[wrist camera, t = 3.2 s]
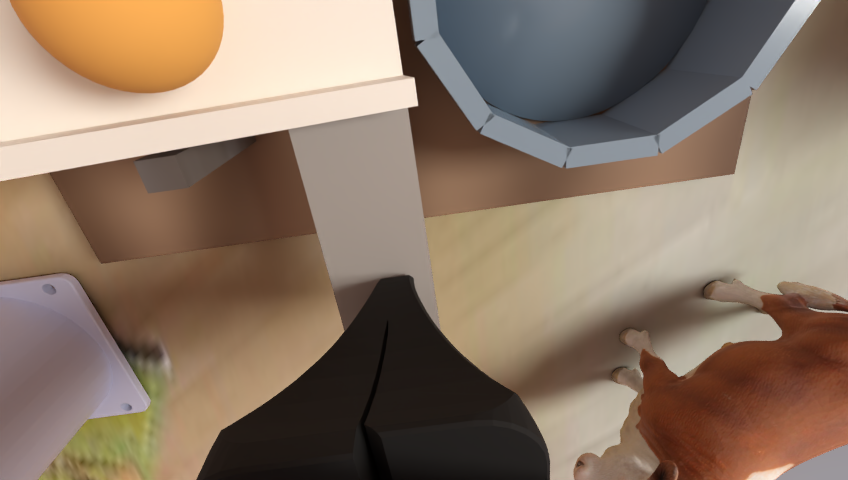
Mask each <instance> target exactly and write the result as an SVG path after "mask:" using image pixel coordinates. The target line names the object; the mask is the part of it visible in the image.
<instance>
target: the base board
mask: <svg viewBox="0 0 848 480" xmlns="http://www.w3.org/2000/svg"><path fill="white" fill-rule="evenodd" d="M392 3H393V10H394V17H395V24H396V31H397V38H398V44H399V51H400V58H401V65H402V72H403V75H405V76H409V77H414V79H415V86H416V93H417V101H418V106H414V107H409V108H408V113H409V119H410V126H411V133H412V140H413V147H414V153H415V160H416V167H417V174H418V181H419V188H420V194H421V201H422V208H423V215H424V218H427V217H434V216H441V215H448V214H455V213H462V212H469V211H476V210H483V209H490V208H497V207H504V206H511V205H518V204H525V203H532V202H539V201H546V200H553V199H561V198H568V197H575V196H582V195H589V194H596V193H603V192H610V191H617V190H624V189H631V188H638V187H645V186H652V185H659V184H666V183H673V182H680V181H687V180H694V179H702V178H709V177H716V176H723V175H730V174H734V172H735V168H736V163H737V159H738V154H739V149H740V145H741V140H742V135H743V131H744V126H745V121H746V117H747V112H748V108H749V103H750V98H751V95H750V96H749V97H747V98H746V99H744V100H743V101H741V102H740V103H738V104H737V105H735V106H734V107H732V108H731V109H729V110H728V111H726V112H725V113H723V114H722V115H720V116H718V117H717V118H715V119H714V120H712V121H711V122H709V123H708V124H706V125H705V126H703V127H702V128H700V129H699V130H697V131H696V132H694V133H693V134H691V135H690V136H688V137H687V138H685V139H684V140H682V141H681V142H679V143H678V144H676V145H675V146H673V147H672V148H670V149H668V150H667V151H665V152H664V153H659V152H658V156H651V157H644V158H637V159H630V160H623V161H616V162H609V163H602V164H595V165H588V166H581V167H574V168H567V169H566V168H565V167H564V166H563V167H562V168H560V167H558V166H556V165H553V164H551V163H549V162H546V161H544V160H541V159H539V158H537V157H534V156H532V155H530V154H527V153H525V152H522V151H520V150H518V149H515V148H513V147H510V146H508V145H506V144H503V143H501V142H499V141H496V140H494V139H491V138H489V137H487V136H484V135H482V134H480V133H479V132H478V131H476V130H475V128H474V127H473V126H472V125H471V123H470V122H469V121H468V120H467V118H466V117H465V116H464V115H463V113H462V112H461V111H460V109H459V108H458V107H457V105H456V104H455V102H454V101H453V100H452V98H451V97H450V95H449V94H448V92H447V91H446V90H445V88H444V87H443V85H442V84H441V83H440V81H439V80H438V78H437V77H436V75H435V74H434V73H433V71H432V70H431V68H430V67H429V66H428V64H427V63H426V61H425V60H424V58H423V57H422V56H421V54H420V53H419V51H418V50H417V49H416V47H415V46H414V44H416V43H417V42H418V41H412V34H411V27H410V19H409V12H408V4H407V0H392ZM669 62H670V61H669ZM667 65H668V64H667ZM667 65H666V66H667ZM666 66H665V67H664V68H663V69H662V70H661V71H663V70H664V69H665V68H666ZM661 71H660V72H661ZM660 72H659V73H660ZM659 73H658V74H659ZM751 91H752V89H751ZM483 100H484V99H483ZM484 101H485V103H487V104H490V103H489V102H487V101H486V100H484ZM490 105H492V104H490ZM492 106H494V105H492ZM494 107H495V106H494ZM496 108H497V107H496ZM610 108H611V107H610ZM608 109H609V108H608ZM608 109H606V110H604V111H601V112H598V113H595V114H592V115H598V114H602V113H604V112H605V111H607V110H608ZM512 115H513V114H512ZM592 115H589V116H592ZM515 116H516V115H515ZM517 117H519V116H517ZM519 118H522V117H519ZM522 119H524V120H526V121H528V122H531V123H533V124H537V123H544V122H550V121H539V120H532V119H527V118H522ZM49 173H50V174H51V176H52V178H53V180H54V182H55V183H56V185H57V187H58V189H59V190H60V192H61V194H62V196H63V197H64V199H65V201H66V203H67V204H68V206H69V208H70V210H71V212H72V213H73V215H74V217H75V219H76V220H77V222H78V224H79V226H80V227H81V229H82V231H83V233H84V234H85V236H86V238H87V240H88V241H89V243H90V245H91V247H92V249H93V250H94V252H95V254H96V256H97V257H98V259H99V261H100V263H101V264H102V263H109V262H116V261H124V260H131V259H138V258H145V257H152V256H159V255H166V254H173V253H180V252H187V251H194V250H201V249H208V248H215V247H222V246H229V245H236V244H243V243H250V242H257V241H265V240H272V239H279V238H286V237H293V236H300V235H307V234H314V233H317V231H316V227H315V223H314V220H313V216H312V213H311V209H310V206H309V202H308V198H307V195H306V191H305V188H304V184H303V181H302V177H301V174H300V170H299V166H298V163H297V159H296V156H295V152H294V149H293V145H292V141H291V138H290V134H289V131H288V129H287V130H281V131H276V132H270V133H265V134H259V135H254V136H248V137H243V138H237V139H232V140H226V141H220V142H215V143H209V144H204V145H198V146H193V147H187V148H182V149H176V150H171V151H165V152H160V153H154V154H149V155H143V156H137V157H132V158H126V159H121V160H115V161H110V162H104V163H99V164H93V165H88V166H82V167H77V168H71V169H65V170H60V171H54V172H49Z"/></svg>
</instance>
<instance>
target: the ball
mask: <svg viewBox="0 0 848 480" xmlns="http://www.w3.org/2000/svg"><path fill="white" fill-rule="evenodd" d="M10 3H11V5H12V7H13V9H14V11H15V12H16V14H17V16H18V17H19V19H20V21H21V22H22V24H23V25H24V26H25V28H26V29H27V30H28V32H29V33H30V34H31V35H32V36H33V37H34V39H35V40H36V41H37V42H38V43H39V44H40V45H41V46H42V47H43V48H44V49H45V50H46V51H47V52H49V53H50V54H51V55H52V56H53V57H54V58H55V59H57V60H58V61H59V62H61V63H62V64H63V65H65V66H66V67H68V68H69V69H71V70H72V71H74V72H76V73H77V74H79V75H81V76H82V77H85V78H87V79H89V80H91V81H93V82H95V83H98V84H101V85H103V86H106V87H109V88H113V89H117V90H121V91H126V92H133V93H160V92H166V91H170V90H175V89H177V88H180V87H182V86H185V85H187V84H188V83H190V82H192V81H194V80H195V79H196V78H198V77H199V76H200V75H202V74H203V73H204V71H205V70H206V69H207V68H208V67H209V66H210V64H211V63H212V61H213V60H214V59H215V57H216V54H217V52H218V50H219V48H220V44H221V41H222V36H223V29H224V13H223V5H222V1H221V0H10Z"/></svg>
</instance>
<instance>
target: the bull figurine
mask: <svg viewBox="0 0 848 480" xmlns="http://www.w3.org/2000/svg"><path fill="white" fill-rule="evenodd" d="M777 288H778V289H779V291H780V292H781V293H782V294H783V295H777V294H771V293H765V292H761V291H757V290H754V289H752V288H750V287H748V286H746V285H744V284H743V283H742V282H741V281H739V280H736V279H734V280H733V283H732V284H727V283H723V282H720V281H714V282H712V283H710V284H709V285H707V286H706V288H705V289H704V296H705V298H706V299H711V300H717V301H721V302H738V303H743V304H748V305H751V306H754V307H756V308H758V309H759V311H760V312H761V313H763V314H769V315H770V316H771V317H772V318H773V319H774V320H775V322H776V323H777V324H778V326H779V327H780V328H781V330H782V336H781V337H780V338H779V339H778V340H775V341H744V342H738V343H734V344H733V343H731V342H728V343H725V344H724V345H723V346H722V347H721V349H719V350H718V351H716V352H715V353H713V354H712V355H711V356H709V357H708V358H707V359H706V360H705V361H703V362H702V363H701V364H699V365H698V366H697V367H695V368H694V369H693V370H691V371H689V372H688V373H687V374H685V375H684V376H681V377H678V376H677V375H676V374H674V373H673V372H671V371H670V370H669V369H668V367H667V366H666V364H665V362H664V361H663V360H662V359H661V358H660V357H658V356H657V355H656V354H655V352H654V350H653V347H652V344H651V342H650V339H649V337H650V335H649V333H648V332H647V331H646V330H643V331H642V332H638V331H636V330H634V329H633V328H629V329H626V330H624V331H623V332H622V333H621V334H620V337H619V339H620V341H621V342H622V343H624V344H626V345H628V346H630V347H632V348H634V349H636V350H637V351H638V352H639V354H640V362H639V365H640V368H641V371H642V372H643V375H644V377H643V379H642V377H641V375H640V373H639V371H638V370H637V369H636V368H634V369H633V370H628V369H626V368H618V369H616V370H615V371H614V372H613V374H612V379H613V381H614V382H616V383H618V384H622V385H626V386H628V387H630V388H631V389H633V390H635V391H636V392H638V395H637V397H636V398H635V399H634V400H633V401H632V403H631V405H630V408H629V415H628V417H627V418H626V419H625V421H624V424H623V427H622V428H621V430H620V437H621V443H620V444H619V445H615V446H611V447H609V448H608V449H606V450H605V452H604V454H603V455H602V456H601V457H600V458H599V457H598V456H597V455H595V454H593V453H585V454H583V455H581V456H580V457H579V458H578V460H577V462H576V465H575V468H574V479H575V480H775V479H776V478H778V477H779V476H780V475H781V474H783V473H785V472H786V471H788V470H790V469H792V468H793V467H795V466H797V465H799V464H801V463H803V462H805V461H807V460H809V459H811V458H814V457H816V456H819V455H821V454H823V453H826V452H828V451H831V450H833V449H836V448H838V447H841V446H844V445H847V444H848V314H843V313H824V312H816V311H813V310H810V309H809V307H810V308H813V309H819V310H837V311H845V312H848V301H847V300H846V299H844V298H842V297H840V296H838V295H836V294H833V293H831V292H829V291H826V290H824V289H821V288H818V287H814V286H808V285H804V284H801V283H798V282H781V283H779V284H778V285H777Z"/></svg>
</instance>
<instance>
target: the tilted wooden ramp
mask: <svg viewBox="0 0 848 480" xmlns="http://www.w3.org/2000/svg"><path fill="white" fill-rule="evenodd" d="M221 1H222V5H223V13H224V29H223V36H222V41H221V44H220V48H219V50H218V52H217V54H216V57H215V59H214V60H213V61H212V63H211V64H210V66H209V67H208V68H207V69H206V70H205V71H204V73H203V74H202V75H200V76H199V77H198V78H196V79H195V80H194V81H192V82H190V83H188V84H187V85H185V86H182V87H180V88H177V89H175V90H170V91H166V92H160V93H133V92H126V91H121V90H117V89H113V88H109V87H106V86H103V85H101V84H98V83H95V82H93V81H91V80H89V79H87V78H85V77H82V76H81V75H79V74H77V73H76V72H74V71H72V70H71V69H69V68H68V67H66V66H65V65H63V64H62V63H61V62H59V61H58V60H57V59H55V58H54V57H53V56H52V55H51V54H50V53H49V52H47V51H46V50H45V49H44V48H43V47H42V46H41V45H40V44H39V43H38V42H37V41H36V40H35V39H34V37H33V36H32V35H31V34H30V33H29V32H28V30H27V29H26V28H25V26H24V25H23V24H22V22H21V21H20V19H19V17H18V16H17V14H16V12H15V11H14V9H13V7H12V5H11V3H10V0H0V181H5V180H10V179H16V178H21V177H27V176H32V175H38V174H43V173H49V172H54V171H60V170H65V169H71V168H77V167H82V166H88V165H93V164H99V163H104V162H110V161H115V160H121V159H126V158H132V157H137V156H143V155H149V154H154V153H160V152H165V151H171V150H176V149H182V148H187V147H193V146H198V145H204V144H209V143H215V142H220V141H226V140H232V139H237V138H243V137H248V136H254V135H259V134H265V133H270V132H276V131H281V130H287V129H288V131H289V134H290V138H291V141H292V145H293V149H294V152H295V156H296V159H297V163H298V166H299V170H300V174H301V177H302V181H303V184H304V188H305V191H306V195H307V198H308V202H309V206H310V209H311V213H312V216H313V220H314V223H315V227H316V231H317V234H318V238H319V241H320V245H321V248H322V252H323V256H324V259H325V263H326V266H327V270H328V273H329V277H330V280H331V284H332V288H333V291H334V295H335V298H336V302H337V305H338V309H339V313H340V316H341V320H342V323H343V327H344V330H346V329H347V328H348V327H349V325H350V324H351V323H352V321H353V320H354V319H355V317H356V316H357V314H358V313H359V311H360V310H361V308H362V307H363V306H364V304H365V302H366V301H367V299H368V298H369V296H370V295H371V293H372V291H373V290H374V288H375V286H376V285H377V283H378V282H379V280H380V279H384V278H391V277H398V276H405V275H410V276H412V277H413V278H414V284H415V289H416V292H417V294H418V296H419V298H420V300H421V302H422V304H423V306H424V307H425V309H426V311H427V313H428V314H429V316H430V317H431V319H432V320H433V322H434V323H435V324H436V326H437V327H438V328H439V330H440V324H439V317H438V310H437V303H436V297H435V290H434V283H433V276H432V269H431V262H430V256H429V249H428V242H427V235H426V228H425V222H424V215H423V208H422V201H421V194H420V188H419V181H418V174H417V167H416V160H415V153H414V147H413V140H412V133H411V126H410V119H409V113H408V108H409V107H414V106H418V101H417V93H416V86H415V79H414V77H409V76H405V75H403V72H402V65H401V58H400V51H399V44H398V38H397V31H396V24H395V17H394V10H393V3H392V0H221Z"/></svg>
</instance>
